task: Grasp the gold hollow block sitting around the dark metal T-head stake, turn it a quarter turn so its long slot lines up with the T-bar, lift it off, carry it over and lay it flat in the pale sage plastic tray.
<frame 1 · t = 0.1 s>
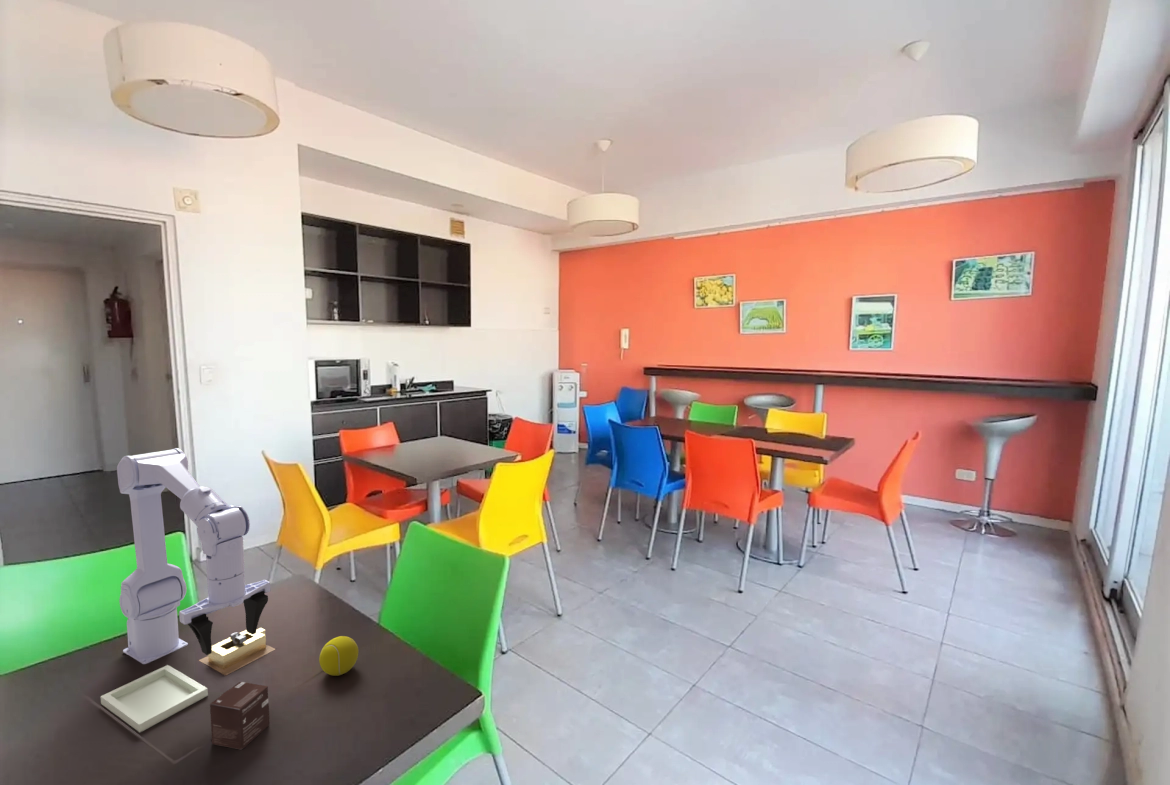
hand: (229, 642, 97), 10 cm above the table, fingers open, 7 cm apart
stake base: (237, 656, 109), on the table
gold hollow block: (240, 646, 109), on the stake base
stake: (238, 645, 108), on the stake base
tennis ball: (339, 672, 104), on the table
box: (241, 735, 87), on the table
tray: (155, 701, 95), on the table
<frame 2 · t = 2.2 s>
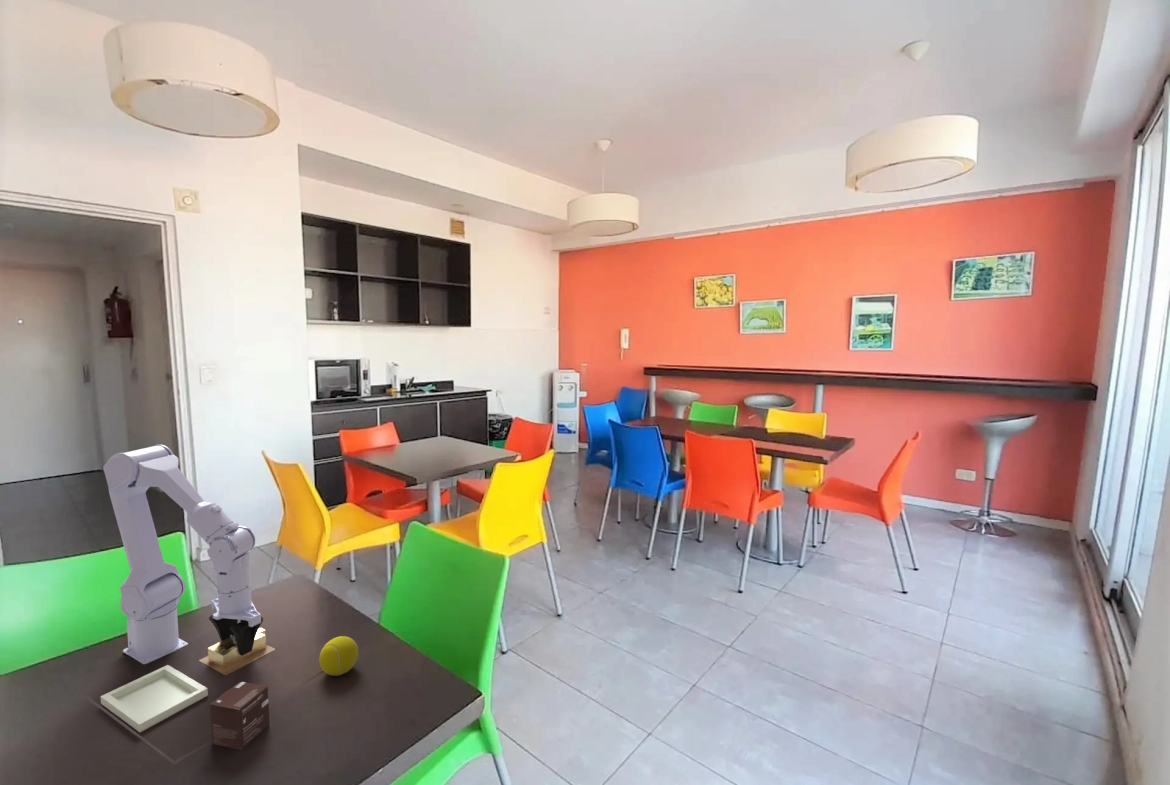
hand: (237, 648, 108), 2 cm above the table, fingers closed on gold hollow block, 6 cm apart
gold hollow block: (240, 646, 109), on the stake base, touching gripper
everything else where it was.
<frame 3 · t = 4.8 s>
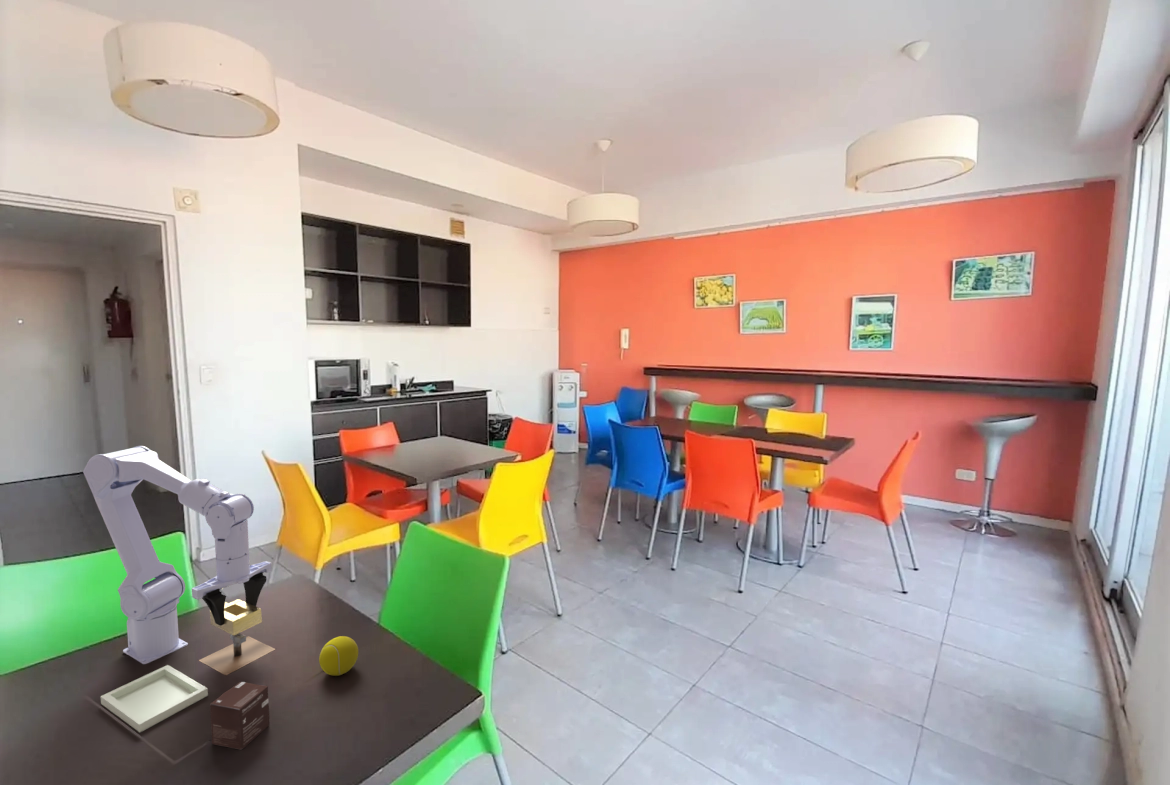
hand: (235, 616, 108), 9 cm above the table, fingers closed on gold hollow block, 6 cm apart
gold hollow block: (234, 615, 108), point 9 cm above the table, touching gripper
everything else where it was.
when the fingers open (4 cm above the table, at t = 7.6 s): gold hollow block drops 1 cm, resting on tray.
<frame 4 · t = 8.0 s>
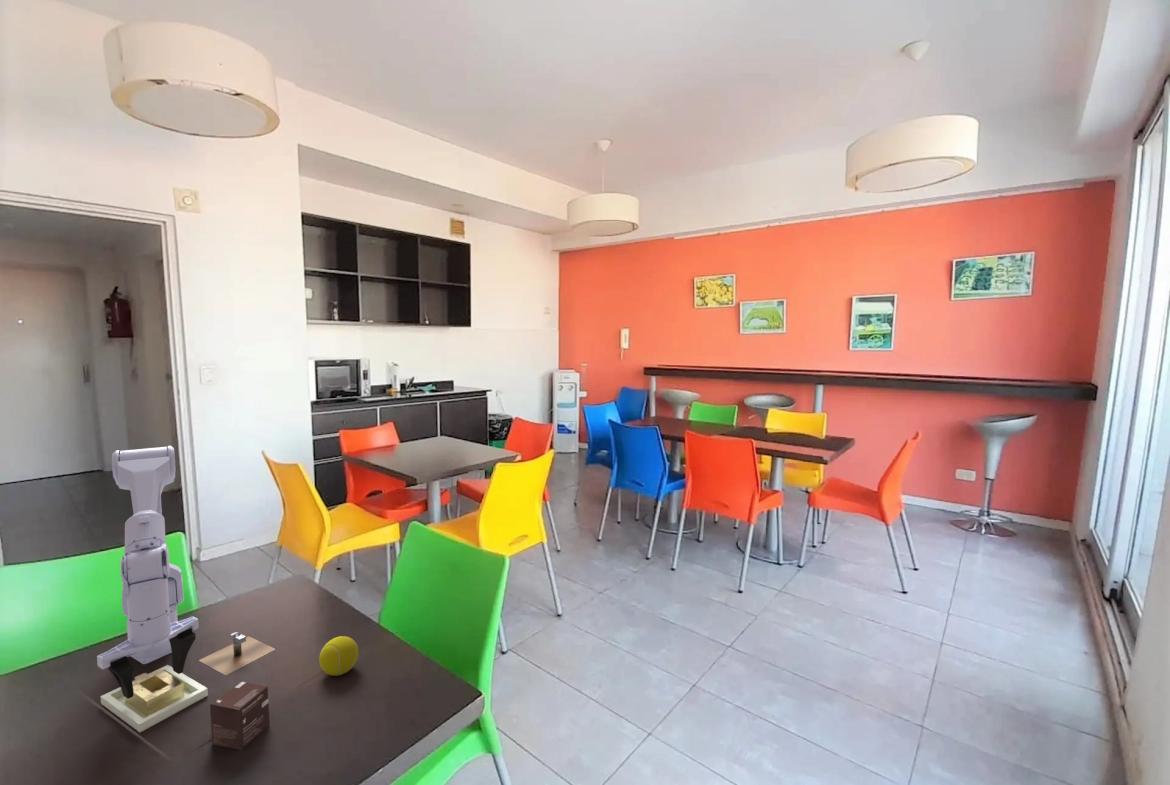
hand: (154, 683, 94), 4 cm above the table, fingers open, 7 cm apart
gold hollow block: (152, 690, 95), in the tray
everything else where it was.
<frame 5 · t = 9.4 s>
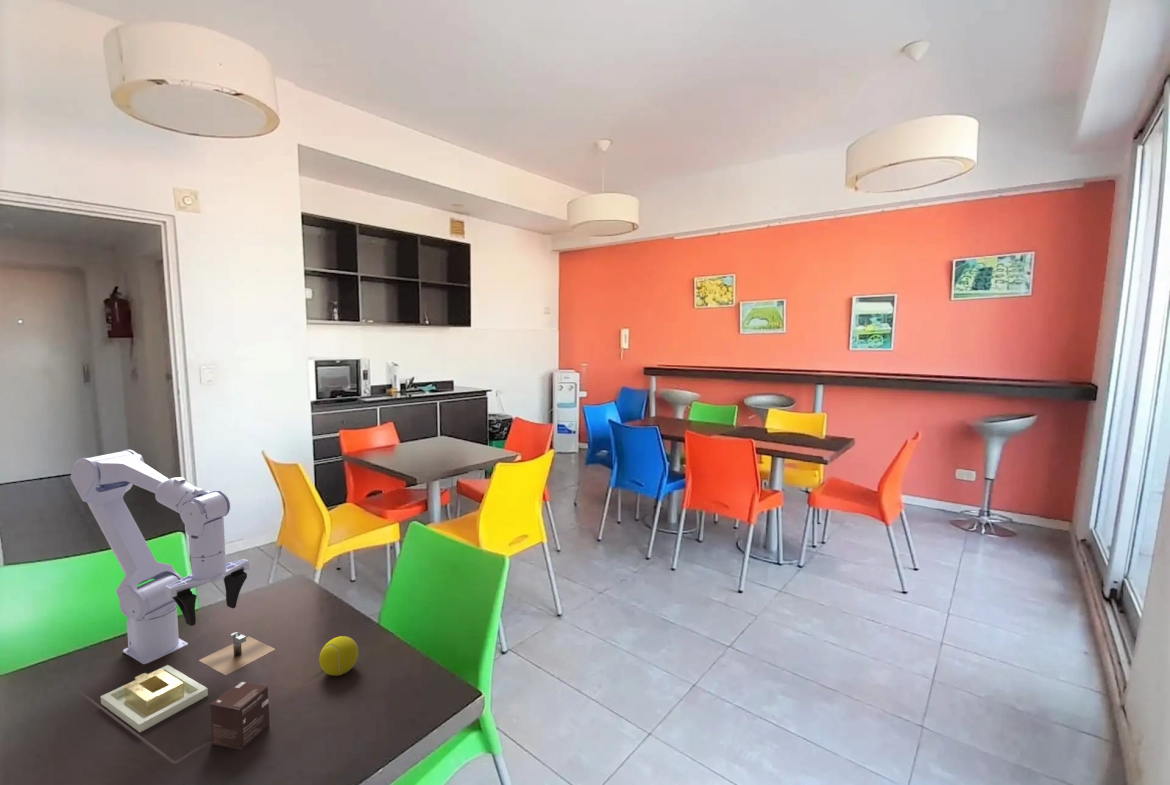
hand: (211, 615, 106), 10 cm above the table, fingers open, 7 cm apart
nothing on the table moved.
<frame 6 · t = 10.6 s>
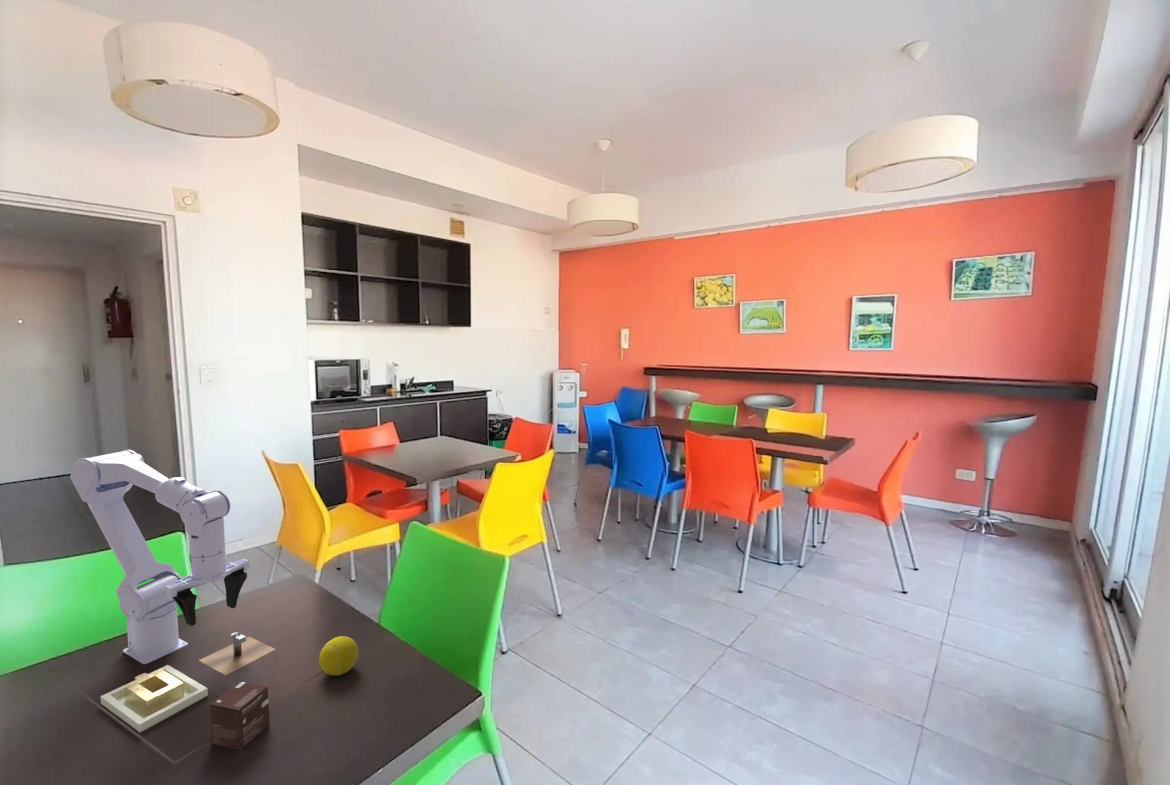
hand: (211, 615, 106), 10 cm above the table, fingers open, 7 cm apart
nothing on the table moved.
at the end: gold hollow block inside the target area on the tray (0.1 cm from its centre), point 2.0 cm above the tray's base; gold hollow block tilted 0°; the gripper is holding nothing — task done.
